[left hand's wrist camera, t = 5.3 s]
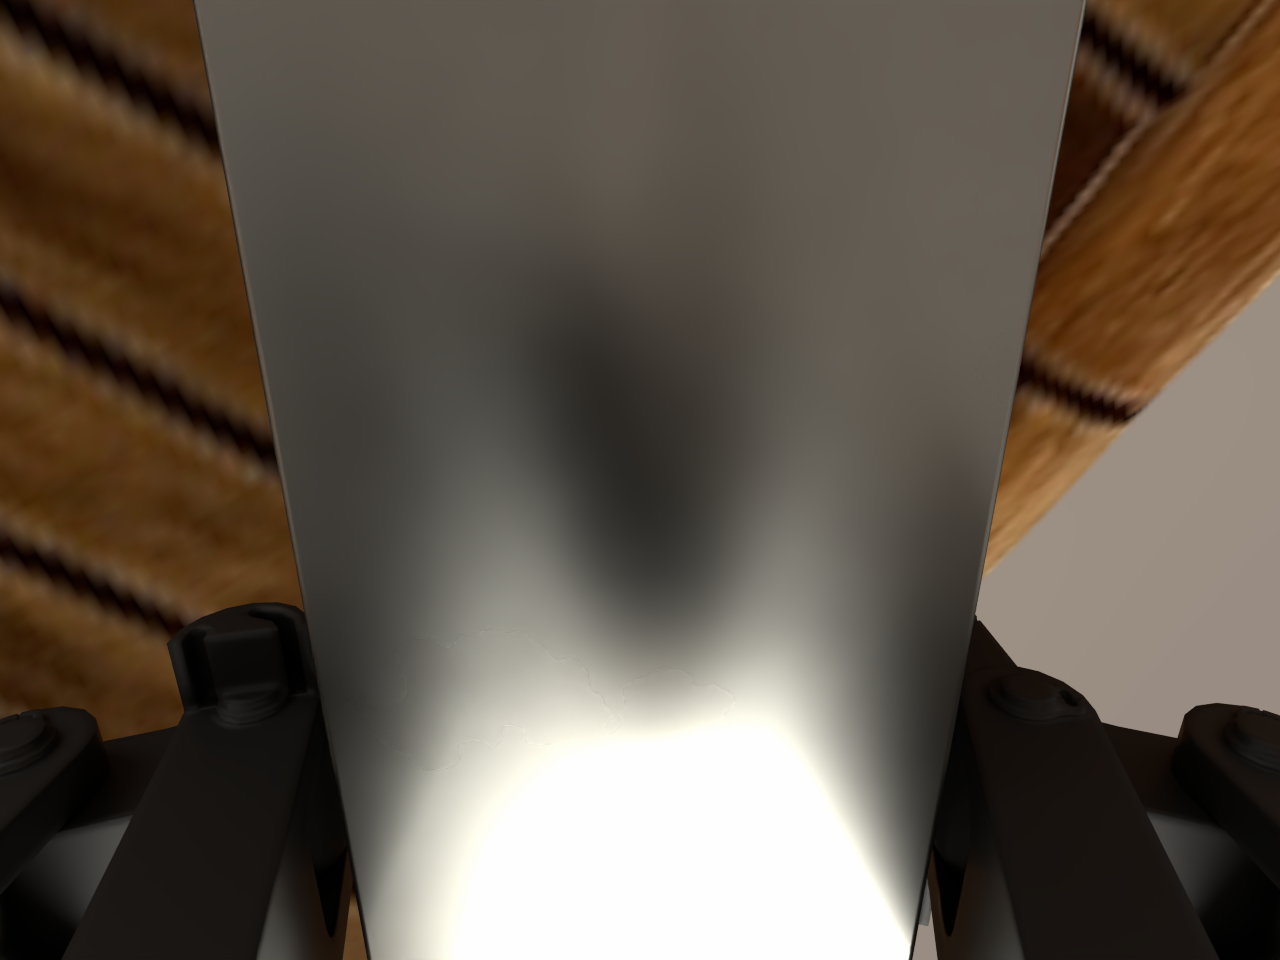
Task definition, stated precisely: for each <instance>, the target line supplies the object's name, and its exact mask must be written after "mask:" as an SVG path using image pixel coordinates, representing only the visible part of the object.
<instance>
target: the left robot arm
mask: <svg viewBox="0 0 1280 960" xmlns="http://www.w3.org/2000/svg"><path fill="white" fill-rule="evenodd" d="M167 646H168V650H169V654H170V657H171V661H172V665H173V669H174V673H175V677H176V680H177V684H178V688H179V692H180V696H181V700H182V703H183V707H184V711H185V712H184V714H183V716H182V718H181V720H180V722H179V724H178V726H175V727H171V728H167V729H163V730H158V731H153V732H148V733H143V734H138V735H133V736H128V737H123V738H118V739H113V740H108V741H103V740H102V737H101V734H100V731H99V727H98V724H97V721H96V718H95V717H93V716H92V715H91V714H90V713H88V712H87V711H86V710H84V709H77V708H70V707H55V708H47V709H36V710H31V711H26V712H22V713H21V714H19V715H18V714H15V715H12V716H9V717H6V718H3V719H1V720H0V960H343V952H344V944H345V936H346V928H347V920H348V912H349V904H350V897H351V889H352V881H353V877H352V871H351V866H350V860H349V855H348V849H347V844H346V838H345V833H344V827H343V822H342V816H341V811H340V805H339V800H338V794H337V789H336V783H335V778H334V772H333V767H332V761H331V756H330V750H329V745H328V739H327V734H326V728H325V723H324V717H323V712H322V707H321V701H320V696H319V690H318V685H317V679H316V674H315V668H314V663H313V657H312V652H311V646H310V641H309V635H308V630H307V624H306V619H305V613H304V612H303V611H301V610H300V609H299V608H297V607H296V606H292V605H287V604H282V603H278V602H274V603H251V604H246V605H241V606H236V607H231V608H226V609H224V610H221V611H218V612H215V613H213V614H210V615H207V616H204V617H202V618H200V619H198V620H196V621H195V622H193V623H191V624H189V625H188V626H186V627H184V628H183V629H181V630H180V631H179V632H178V633H177V634H176V635H175V636H174V637H173V638H172V639H171V640H170V641H169V642H168V643H167ZM931 911H932V918H933V926H934V934H935V942H936V950H937V958H938V960H1280V716H1279V715H1277V714H1274V713H1271V712H1268V711H1265V710H1263V711H1260V710H1259V709H1257V708H1252V707H1248V706H1239V705H1230V704H1221V703H1213V704H1206V705H1199V706H1195V707H1194V708H1193V709H1191V710H1190V711H1189V712H1188V713H1186V714H1185V716H1184V719H1183V722H1182V725H1181V728H1180V732H1179V735H1178V738H1174V737H1169V736H1164V735H1158V734H1153V733H1148V732H1143V731H1138V730H1133V729H1128V728H1123V727H1118V726H1114V725H1110V724H1106V723H1102V722H1101V721H1100V719H1099V717H1098V715H1097V713H1096V711H1095V709H1094V708H1093V707H1092V706H1091V704H1090V703H1089V702H1088V701H1087V700H1086V698H1085V697H1084V696H1083V695H1082V694H1080V693H1079V692H1077V691H1076V690H1075V689H1073V688H1072V687H1070V686H1069V685H1067V684H1066V683H1064V682H1063V681H1060V680H1058V679H1056V678H1053V677H1051V676H1048V675H1046V674H1044V673H1041V672H1039V671H1035V670H1031V669H1026V668H1022V667H1017V665H1016V664H1015V663H1014V662H1013V661H1012V659H1011V658H1010V657H1009V656H1008V654H1007V653H1006V652H1005V651H1004V649H1003V648H1002V647H1001V646H1000V645H999V643H998V642H997V641H996V640H995V638H994V637H993V636H992V635H991V633H990V632H989V631H988V630H987V628H986V627H985V626H984V625H983V624H982V622H981V621H977V616H976V615H975V617H974V623H973V628H972V634H971V639H970V645H969V650H968V656H967V661H966V667H965V672H964V678H963V683H962V689H961V694H960V700H959V705H958V711H957V716H956V722H955V727H954V733H953V738H952V744H951V749H950V755H949V760H948V766H947V771H946V777H945V782H944V788H943V793H942V799H941V804H940V809H939V815H938V820H937V826H936V831H935V837H934V842H933V848H932V853H931V859H930V864H929V870H928V875H927V881H926V886H925V892H924V897H923V903H922V908H921V914H920V919H919V924H921V925H925V926H928V924H929V919H930V914H931Z"/></svg>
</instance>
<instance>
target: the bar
mask: <svg viewBox="0 0 1280 960" xmlns="http://www.w3.org/2000/svg"><path fill="white" fill-rule="evenodd" d="M1086 3H1087V0H193V4H194V9H195V15H196V20H197V26H198V31H199V37H200V42H201V48H202V53H203V59H204V64H205V70H206V75H207V81H208V86H209V92H210V97H211V103H212V108H213V114H214V119H215V125H216V130H217V136H218V141H219V147H220V152H221V158H222V163H223V169H224V174H225V180H226V185H227V191H228V196H229V201H230V207H231V212H232V218H233V223H234V229H235V234H236V240H237V245H238V251H239V256H240V262H241V267H242V273H243V278H244V284H245V289H246V295H247V300H248V306H249V311H250V317H251V322H252V328H253V333H254V339H255V344H256V350H257V355H258V361H259V366H260V372H261V377H262V383H263V388H264V394H265V399H266V405H267V410H268V416H269V421H270V427H271V432H272V438H273V443H274V449H275V454H276V459H277V465H278V470H279V476H280V481H281V487H282V492H283V498H284V503H285V509H286V514H287V520H288V525H289V531H290V536H291V542H292V547H293V553H294V558H295V564H296V569H297V575H298V580H299V586H300V591H301V597H302V602H303V608H304V613H305V619H306V624H307V630H308V635H309V641H310V646H311V652H312V657H313V663H314V668H315V674H316V679H317V685H318V690H319V696H320V701H321V707H322V712H323V717H324V723H325V728H326V734H327V739H328V745H329V750H330V756H331V761H332V767H333V772H334V778H335V783H336V789H337V794H338V800H339V805H340V811H341V816H342V822H343V827H344V833H345V838H346V844H347V849H348V855H349V860H350V866H351V871H352V877H353V882H354V888H355V893H356V899H357V904H358V910H359V915H360V921H361V926H362V932H363V937H364V943H365V948H366V954H367V959H368V960H912V957H913V952H914V947H915V941H916V936H917V930H918V925H919V919H920V914H921V908H922V903H923V897H924V892H925V886H926V881H927V875H928V870H929V864H930V859H931V853H932V848H933V842H934V837H935V831H936V826H937V820H938V815H939V809H940V804H941V799H942V793H943V788H944V782H945V777H946V771H947V766H948V760H949V755H950V749H951V744H952V738H953V733H954V727H955V722H956V716H957V711H958V705H959V700H960V694H961V689H962V683H963V678H964V672H965V667H966V661H967V656H968V650H969V645H970V639H971V634H972V628H973V623H974V617H975V612H976V606H977V601H978V595H979V590H980V584H981V579H982V574H983V568H984V563H985V557H986V552H987V546H988V541H989V535H990V530H991V524H992V519H993V513H994V508H995V502H996V497H997V491H998V486H999V480H1000V475H1001V469H1002V464H1003V458H1004V453H1005V447H1006V442H1007V436H1008V431H1009V425H1010V420H1011V414H1012V409H1013V403H1014V398H1015V392H1016V387H1017V381H1018V376H1019V370H1020V365H1021V360H1022V354H1023V349H1024V343H1025V338H1026V332H1027V327H1028V321H1029V316H1030V310H1031V305H1032V299H1033V294H1034V288H1035V283H1036V277H1037V272H1038V266H1039V261H1040V255H1041V250H1042V244H1043V239H1044V233H1045V228H1046V222H1047V217H1048V211H1049V206H1050V200H1051V195H1052V189H1053V184H1054V178H1055V173H1056V167H1057V162H1058V156H1059V151H1060V145H1061V140H1062V135H1063V129H1064V124H1065V118H1066V113H1067V107H1068V102H1069V96H1070V91H1071V85H1072V80H1073V74H1074V69H1075V63H1076V58H1077V52H1078V47H1079V41H1080V36H1081V30H1082V25H1083V19H1084V14H1085V8H1086Z"/></svg>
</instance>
